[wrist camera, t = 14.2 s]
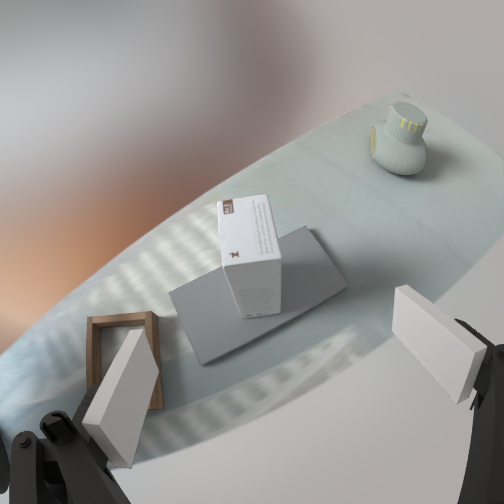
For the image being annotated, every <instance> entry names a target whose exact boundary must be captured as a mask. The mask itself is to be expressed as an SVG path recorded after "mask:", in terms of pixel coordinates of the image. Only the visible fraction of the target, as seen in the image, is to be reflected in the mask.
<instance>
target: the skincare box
mask: <svg viewBox="0 0 504 504" xmlns="http://www.w3.org/2000/svg"><path fill="white" fill-rule="evenodd" d="M217 209H218V221H219V226H218V233H219V238H220V246H221V257H222V266H223V270H224V273H225V275H226V278H227V281H228V283H229V286H230V288H231V291H232V294H233V296H234V299H235V302H236V304H237V307H238V310H239V312H240V315H241V317H242V318H251V317H258V316H265V315H272V314H278V313H280V311H281V265H282V255H281V250H280V246H279V242H278V237H277V233H276V228H275V224H274V220H273V215H272V211H271V207H270V203H269V199H268V195H267V194H265V195H257V196H250V197H244V198H237V199H231V200H226V201H219V202H218V203H217Z"/></svg>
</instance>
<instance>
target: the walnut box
mask: <svg viewBox="0 0 504 504" xmlns="http://www.w3.org/2000/svg"><path fill="white" fill-rule="evenodd" d="M143 324H145V335H146V337H147V340H148V343H149V346H150V349H151V352H152V354H153V357H154V360H155V362H156V365H157V367H158V370H159V373H158V376H157V379H156V383H155V386H154V389H153V393H152V396H151V399H150V403H149V406H148V409H164V403H163V393H162V381H161V368H160V353H159V332H158V316H157V315H156V314H154V313H153V312H152V311H148V312H138V313H128V314H117V315H106V316H94V317H87V339H86V376H87V391H88V389H89V388H90V387H91V386H92V385H93V384H95V383H96V382H101V356H100V342H101V328H105V327H119V326H132V325H143Z"/></svg>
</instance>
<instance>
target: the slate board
mask: <svg viewBox="0 0 504 504" xmlns="http://www.w3.org/2000/svg"><path fill="white" fill-rule="evenodd" d="M278 242H279V246H280V250H281V255H282V265H281V311H280V313H278V314H272V315H265V316H258V317H251V318H242V317H241V315H240V312H239V310H238V307H237V304H236V302H235V299H234V296H233V294H232V291H231V288H230V286H229V283H228V281H227V278H226V275H225V273H224V270H223V266H222V267H220V268H218V269H216V270H214V271H211V272H209V273H207V274H205V275H203V276H201V277H199V278H197V279H195V280H193V281H191V282H189V283H187V284H185V285H183V286H181V287H179V288H177V289H175V290H173V291H171V292H169V295H170V297H171V300H172V302H173V305H174V307H175V309H176V312H177V314H178V316H179V318H180V321H181V323H182V325H183V328H184V330H185V332H186V334H187V336H188V339H189V341H190V343H191V345H192V347H193V349H194V351H195V354H196V356H197V358H198V360H199V362H200V364H201V365H202V366H204V365H206V364H208V363H210V362H212V361H214V360H216V359H218V358H220V357H222V356H224V355H226V354H228V353H231V352H233V351H235V350H236V349H238V348H240V347H242V346H244V345H246V344H248V343H250V342H252V341H254V340H256V339H258V338H260V337H262V336H264V335H265V334H267V333H269V332H271V331H273V330H275V329H277V328H278V327H280V326H282V325H284V324H286V323H288V322H289V321H291V320H293V319H295V318H296V317H298V316H300V315H302V314H304V313H305V312H307V311H309V310H311V309H312V308H314V307H316V306H317V305H319V304H321V303H322V302H324V301H326V300H328V299H329V298H331V297H333V296H334V295H336V294H338V293H339V292H341V291H342V290H344V289H346V288H347V286H348V285H349V284H348V283H347V282H346V280H345V279H344V277H343V276H342V275H341V273H340V272H339V270H338V269H337V268H336V266H335V265H334V263H333V262H332V261H331V259H330V258H329V256H328V255H327V254H326V252H325V251H324V250H323V248H322V247H321V245H320V244H319V243H318V241H317V240H316V239H315V237H314V236H313V235H312V233H311V232H310V231H309V229H308V228H307V227H306V225H305V226H303V227H301V228H299V229H297V230H295V231H293V232H291V233H289V234H287V235H285V236H283V237H281V238H279V239H278Z"/></svg>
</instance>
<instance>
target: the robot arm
mask: <svg viewBox="0 0 504 504" xmlns="http://www.w3.org/2000/svg"><path fill="white" fill-rule="evenodd" d="M392 332H393V333H394V334H395V335H396V336H397V337H398V338H399V340H400V341H401V342H402V343H403V344H404V345H405V346H406V347H407V348H408V349H409V351H410V352H411V353H412V354H413V355H414V356H415V357H416V358H417V359H418V361H419V362H420V363H421V364H422V365H423V366H424V367H425V369H426V370H427V371H428V372H429V373H430V374H431V375H432V377H433V378H434V379H435V380H436V381H437V382H438V383H439V384H440V386H441V387H442V388H443V389H444V390H445V392H446V393H447V394H448V395H449V396H450V397H451V399H452V400H453V401H454V402H455V403H456V404H458V403H460V402H462V401H463V400H466V399H467V398H469V396H470V394H471V391H472V389H473V388H474V389H475V390H476V391H477V393H476V396H475V398H474V400H473V402H472V405H471V407H470V410H472V408H473V406H474V418H473V427H472V435H471V443H470V449H469V455H468V461H467V467H466V471H465V476H464V480H463V485H462V488H461V492H460V496H459V500H458V503H457V504H504V344H500V345H497V346H495V345H494V344H492V343H491V342H490V341H489V340H487V339H486V338H485V337H483V336H482V335H481V334H480V333H479V332H478V333H477V331H476V330H475V329H473V328H472V327H471V326H470V325H468V324H467V323H466V322H464V321H461V320H458V319H452V318H451V317H450V316H448V315H447V314H446V313H444V312H443V311H442V310H441V309H439V308H438V307H437V306H435V305H434V304H433V303H431V302H430V301H429V300H427V299H426V298H425V297H423V296H422V295H420V294H419V293H418V292H416V291H415V290H414V289H412V288H411V287H409V286H408V285H403V286H399V287H395V299H394V312H393V323H392ZM158 373H159V370H158V367H157V365H156V362H155V360H154V357H153V354H152V352H151V349H150V346H149V343H148V340H147V337H146V335H145V332H144V329H137V330H130V331H129V333H128V335H127V337H126V339H125V340H124V342H123V344H122V346H121V347H120V349H119V351H118V353H117V355H116V357H115V358H114V360H113V362H112V364H111V366H110V368H109V370H108V371H107V373H106V375H105V377H104V379H103V381H102V383H101V382H96V383H95V384H93V385H92V386H91V387H90V388H89V389H88V391H87V393H86V394H85V396H84V399H83V400H82V402H81V405H80V406H79V407H78V409H77V411H76V413H75V415H74V417H73V419H72V421H71V420H70V418H69V417H68V415H67V414H66V413H65V412H63V411H53V412H50V413H49V414H47V415H45V417H44V418H43V419H42V420H41V422H40V429H41V431H42V432H43V433H44V434H45V436H46V437H47V439H38V438H37V437H36V435H35V434H34V433H33V432H31V431H23V432H21V433H19V434H18V435H17V436H16V437H15V438H14V440H13V443H12V452H11V464H10V473H9V465H8V460H7V456H6V453H5V449H4V446H3V444H2V441H1V439H0V494H3V493H5V492H6V491H7V489H8V486H9V504H131V503H130V501H129V500H128V498H127V497H126V496H125V494H124V493H123V491H122V490H121V488H120V486H119V485H118V483H117V482H116V480H115V478H114V477H113V475H112V473H111V472H110V470H109V469H108V468H107V467H106V465H107V461H108V459H109V460H110V462H111V463H112V464H113V465H114V466H115V467H120V468H129V469H131V468H132V465H133V461H134V457H135V453H136V449H137V446H138V442H139V438H140V434H141V431H142V427H143V424H144V420H145V416H146V413H147V410H148V406H149V403H150V399H151V396H152V393H153V389H154V386H155V383H156V379H157V376H158ZM9 482H10V483H9Z"/></svg>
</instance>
